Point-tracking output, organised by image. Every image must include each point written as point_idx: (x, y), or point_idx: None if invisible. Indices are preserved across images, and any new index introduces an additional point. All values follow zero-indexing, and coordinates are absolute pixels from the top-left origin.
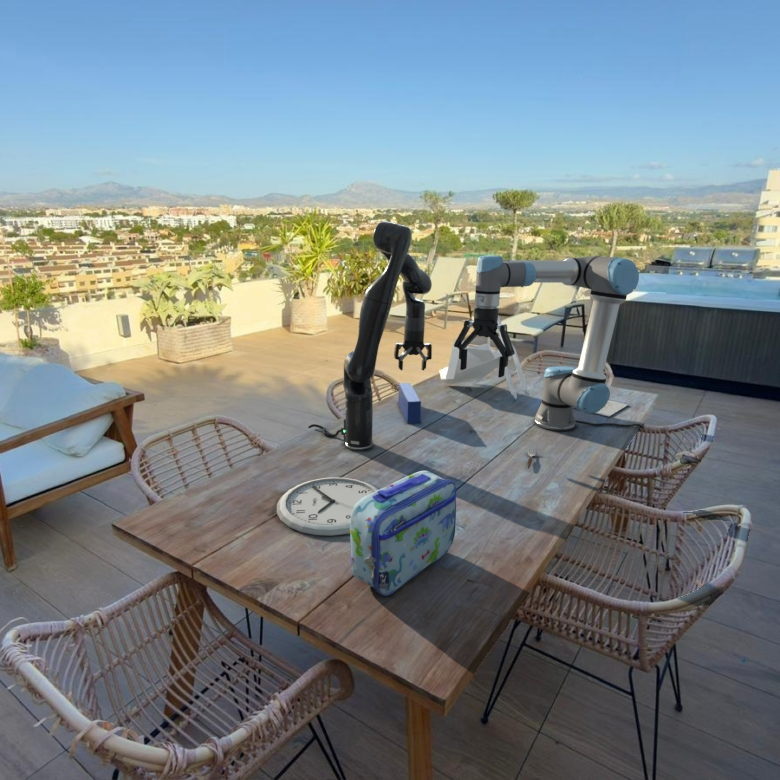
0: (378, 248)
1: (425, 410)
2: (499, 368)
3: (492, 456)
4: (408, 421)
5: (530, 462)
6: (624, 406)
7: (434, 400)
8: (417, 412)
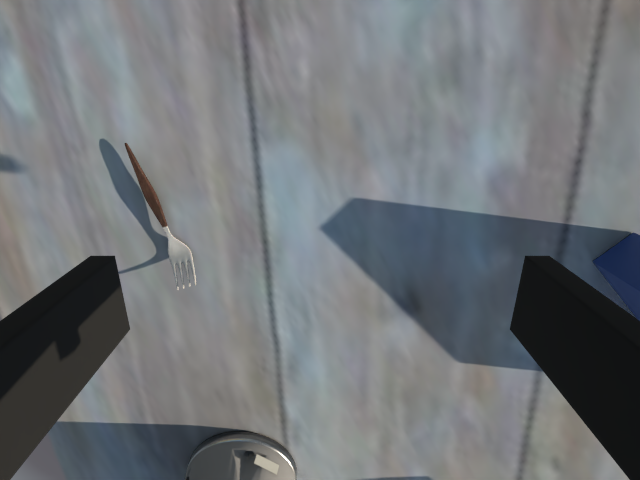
0: None
1: None
2: (49, 302)
3: (266, 169)
4: (636, 237)
5: (142, 186)
6: None
7: None
8: (632, 272)
